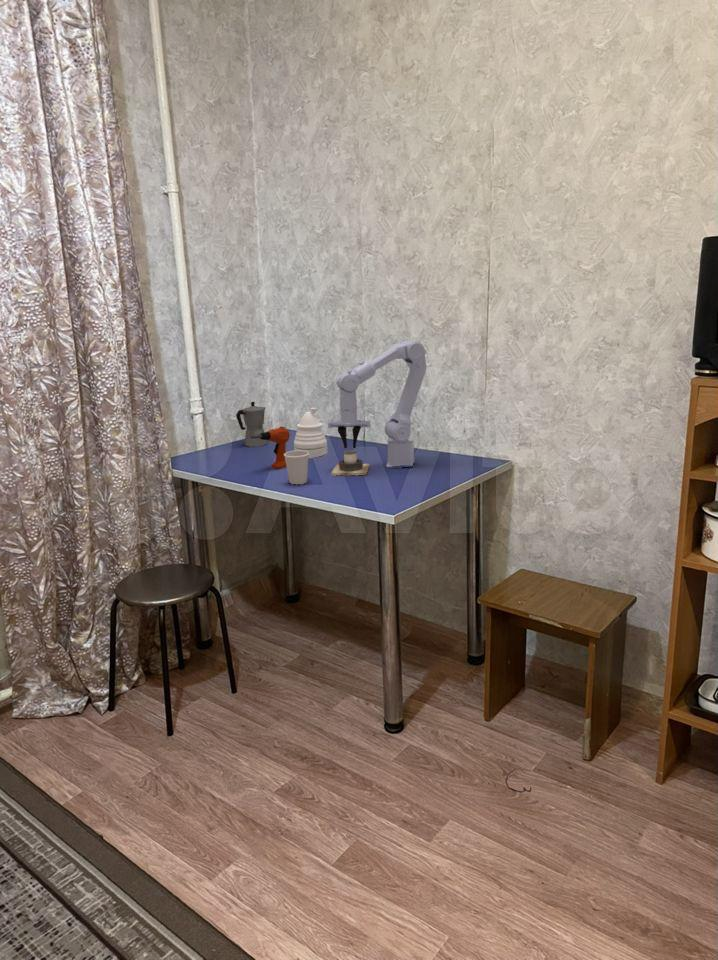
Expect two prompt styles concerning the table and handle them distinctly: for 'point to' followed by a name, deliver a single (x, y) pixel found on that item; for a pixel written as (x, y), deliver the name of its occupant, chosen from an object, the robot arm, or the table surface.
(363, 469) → the square plate with ring
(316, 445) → the honey pot
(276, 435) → the toy drill
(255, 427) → the coffeepot
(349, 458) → the grey cylinder
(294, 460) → the dixie cup
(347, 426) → the robot arm
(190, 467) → the table surface
